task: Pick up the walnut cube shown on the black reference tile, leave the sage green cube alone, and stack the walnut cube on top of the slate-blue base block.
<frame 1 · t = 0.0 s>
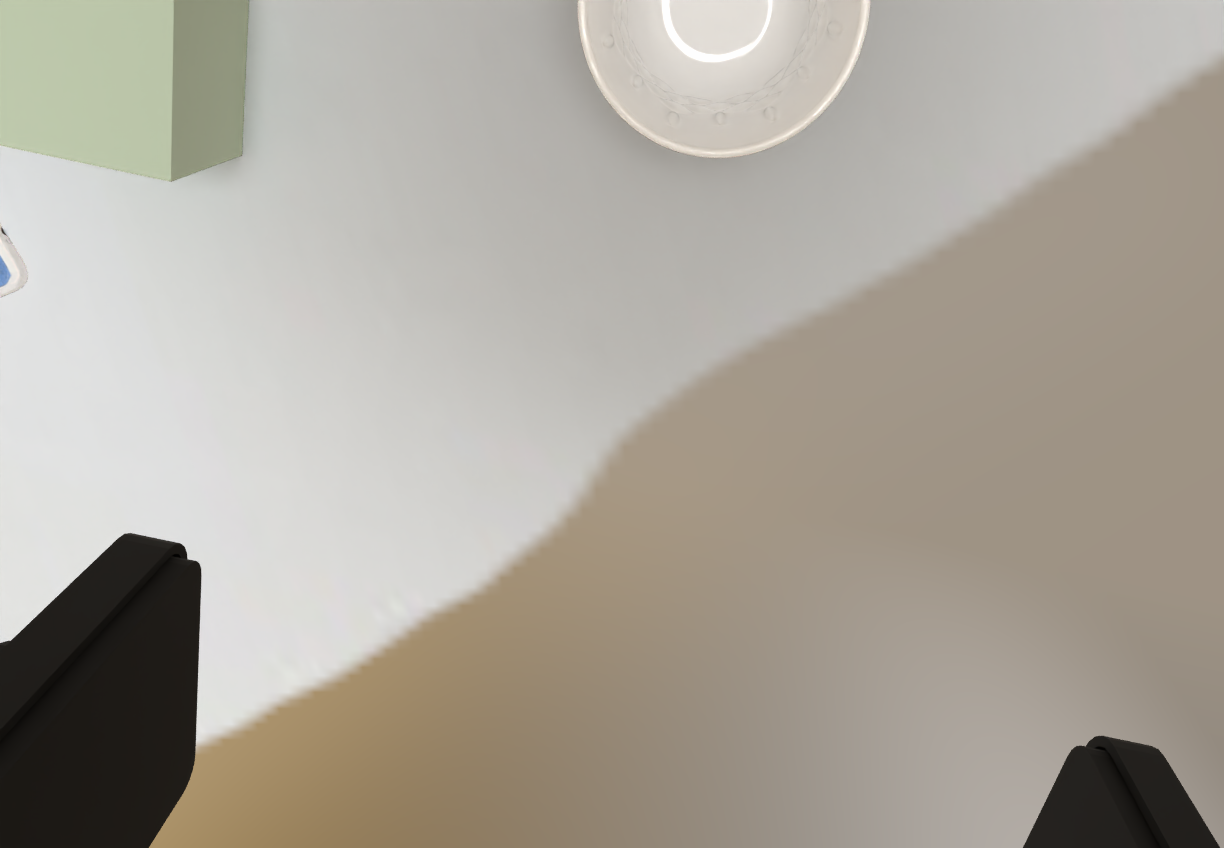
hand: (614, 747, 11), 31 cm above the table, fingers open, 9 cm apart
sage cube: (169, 60, 39), on the table
white cup: (715, 3, 37), on the table
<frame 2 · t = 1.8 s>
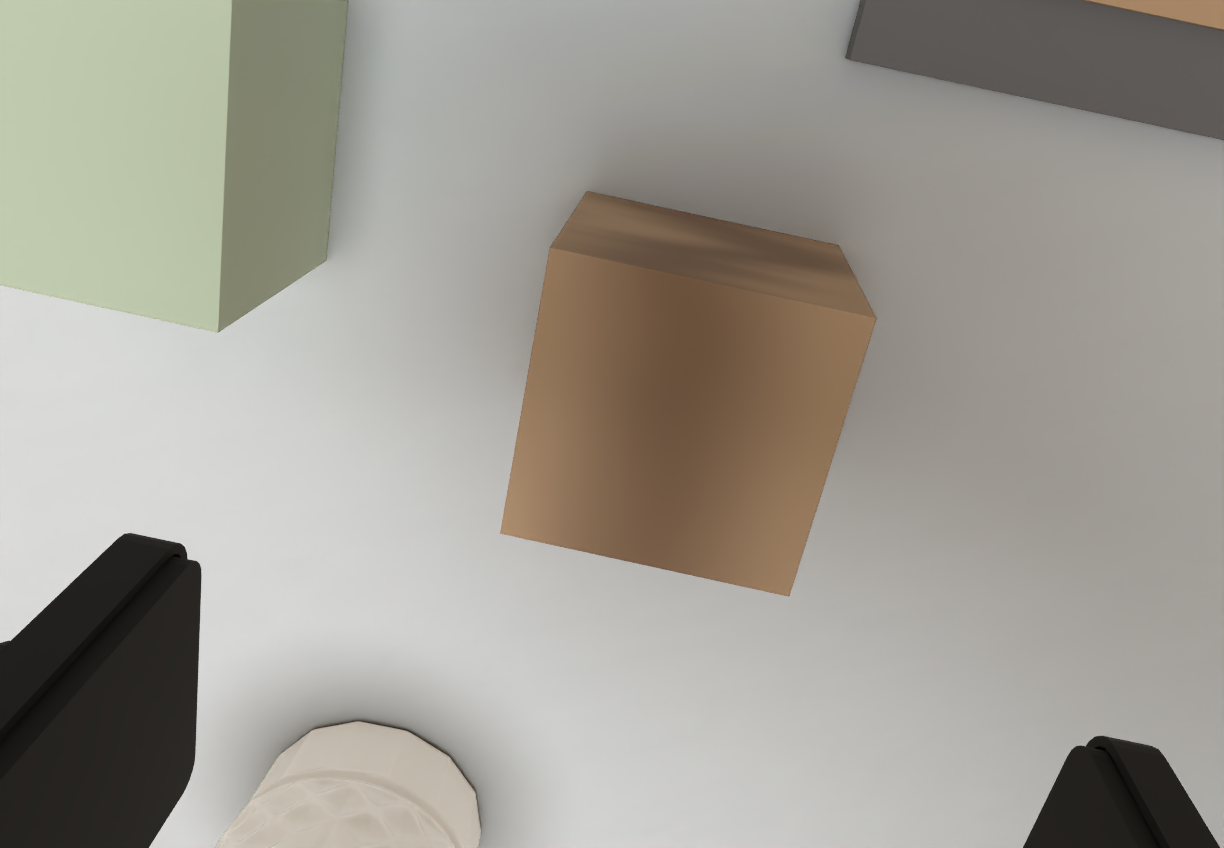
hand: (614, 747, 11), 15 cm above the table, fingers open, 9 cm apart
sage cube: (213, 109, 24), on the table
white cup: (377, 801, 32), on the table
walnut cube: (684, 337, 25), on the table
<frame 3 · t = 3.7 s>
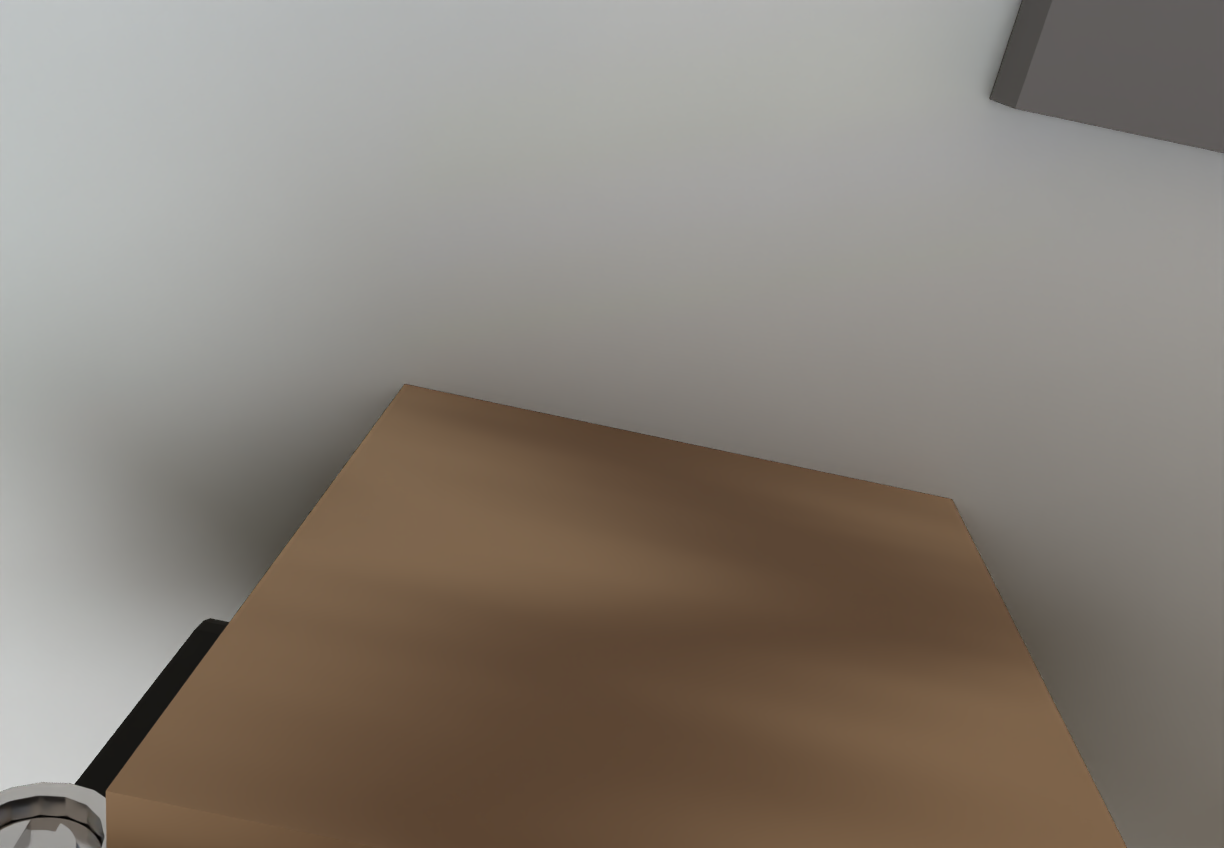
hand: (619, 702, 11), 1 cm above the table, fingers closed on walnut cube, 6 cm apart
walnut cube: (623, 665, 12), on the table, touching gripper
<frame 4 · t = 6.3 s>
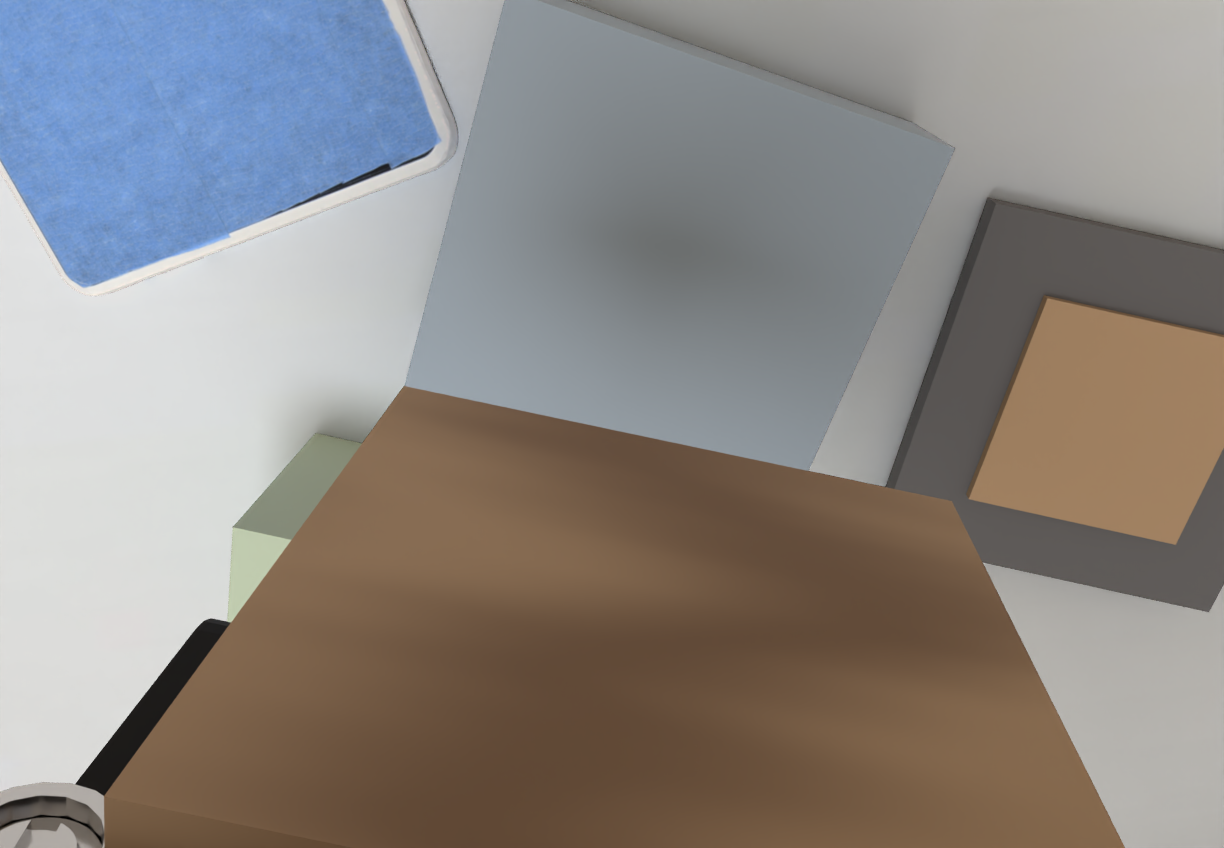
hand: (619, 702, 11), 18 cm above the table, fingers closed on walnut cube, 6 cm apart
reference tile: (1099, 411, 28), on the table
sage cube: (401, 537, 32), on the table
walnut cube: (623, 667, 12), point 17 cm above the table, touching gripper
base block: (663, 240, 28), on the table
when the fingers open (7 cm above the table, at t = 8.9 s): walnut cube drops 2 cm, resting on base block.
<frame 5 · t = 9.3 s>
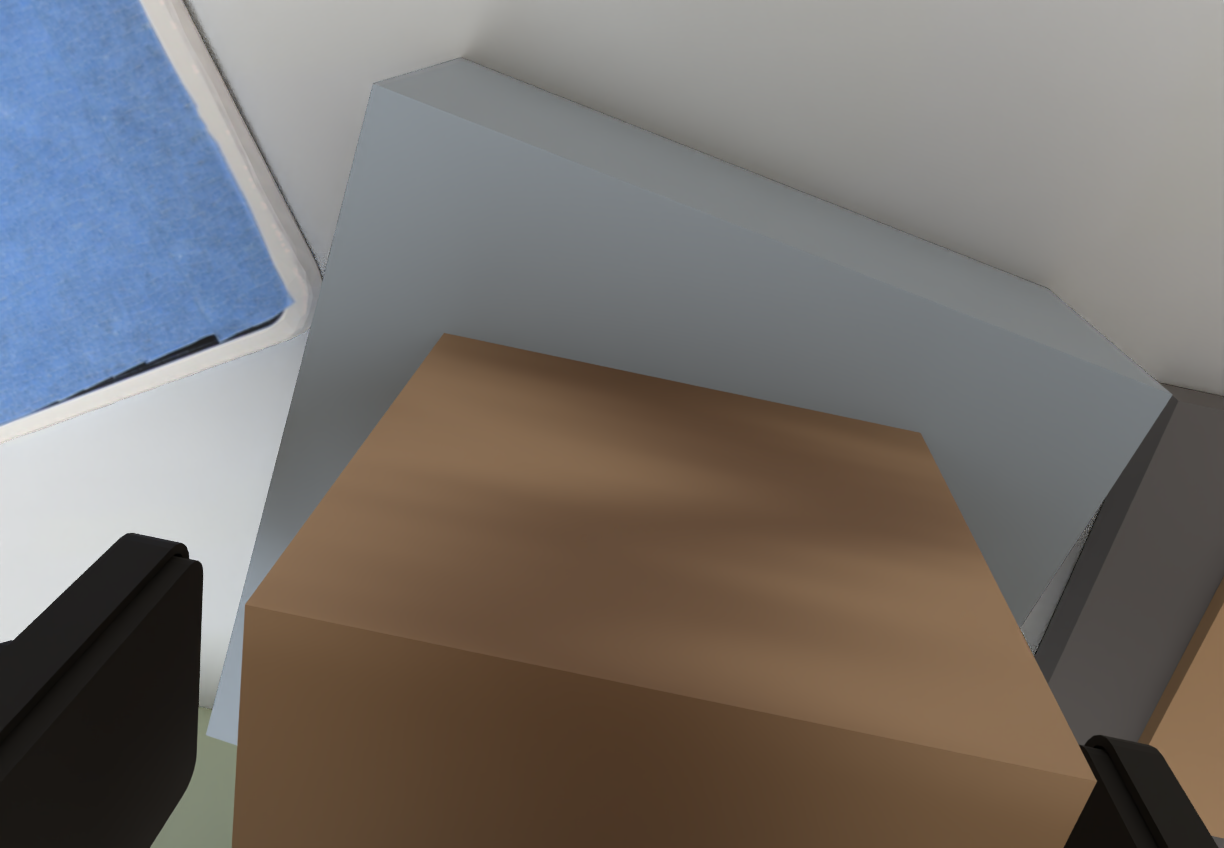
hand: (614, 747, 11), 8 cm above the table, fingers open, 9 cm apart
sage cube: (279, 827, 22), on the table
walnut cube: (634, 585, 14), point 5 cm above the table, touching base block
base block: (648, 435, 18), on the table, touching walnut cube
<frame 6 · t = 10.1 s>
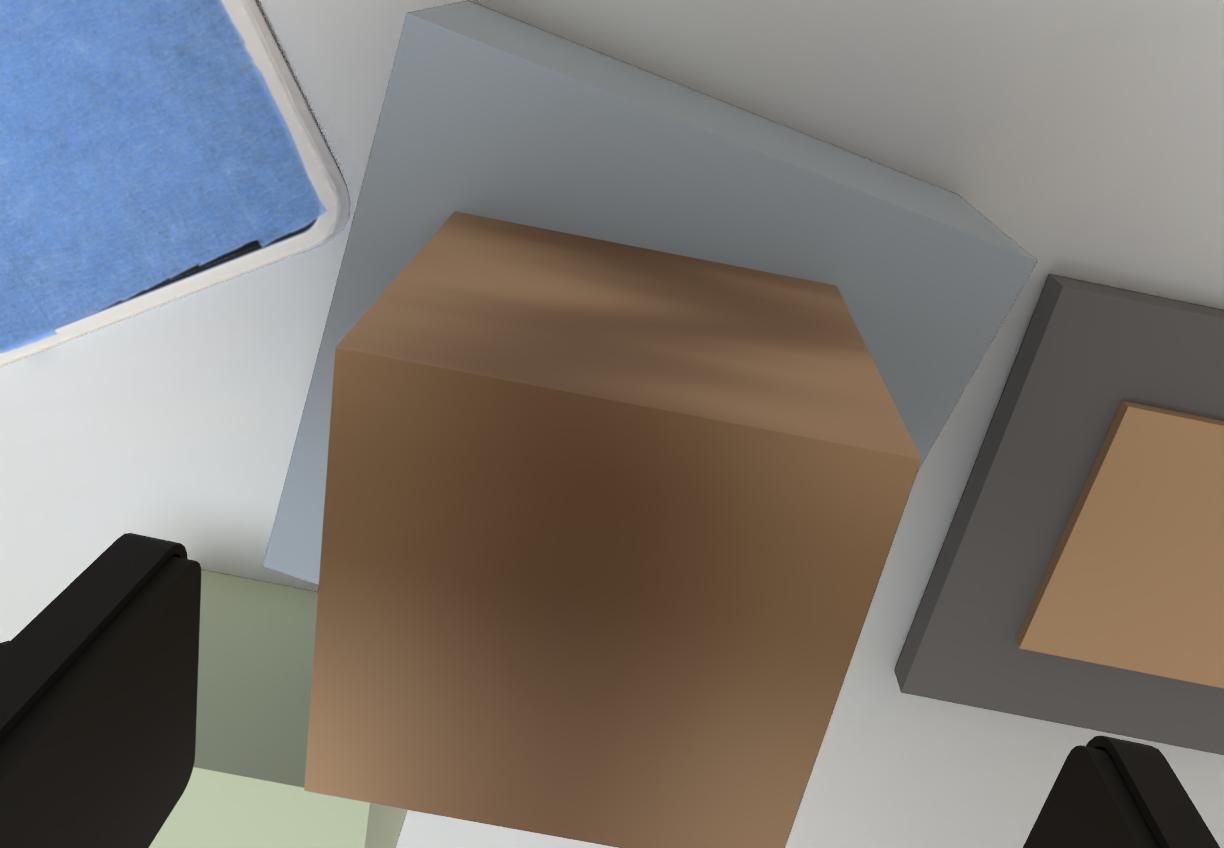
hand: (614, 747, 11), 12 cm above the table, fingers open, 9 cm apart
reference tile: (1184, 535, 22), on the table
sage cube: (307, 686, 26), on the table
walnut cube: (611, 421, 17), point 5 cm above the table, touching base block
base block: (627, 328, 21), on the table, touching walnut cube
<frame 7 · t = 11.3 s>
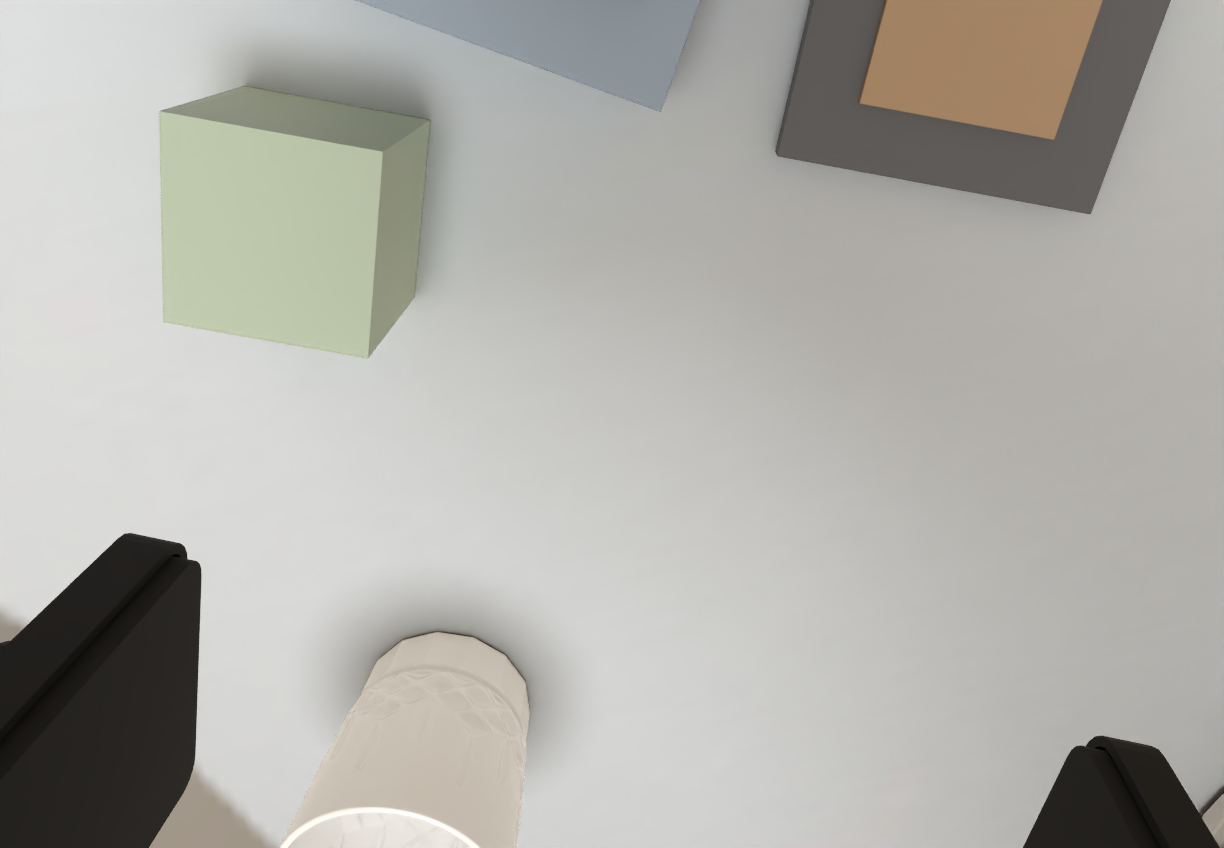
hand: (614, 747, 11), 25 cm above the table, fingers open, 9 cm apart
reference tile: (978, 14, 30), on the table
sage cube: (333, 195, 34), on the table
white cup: (450, 693, 42), on the table
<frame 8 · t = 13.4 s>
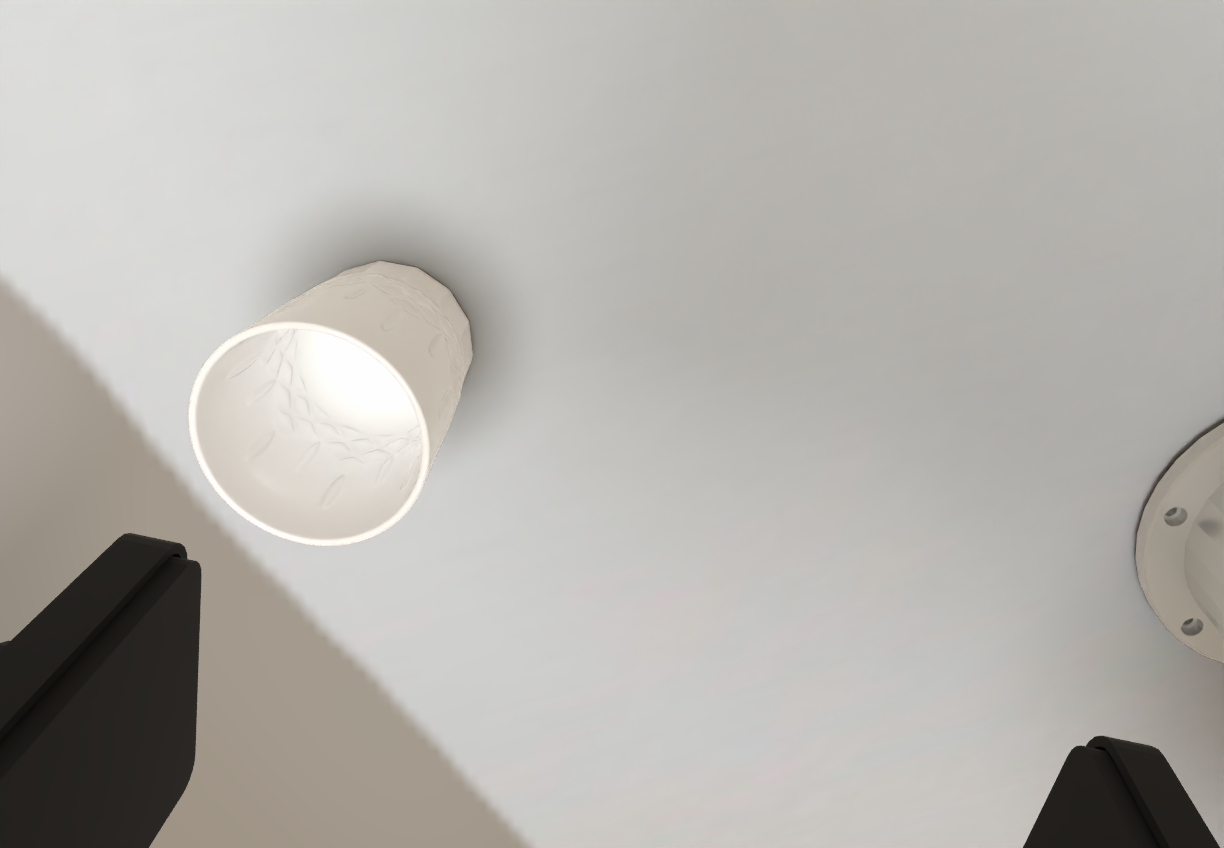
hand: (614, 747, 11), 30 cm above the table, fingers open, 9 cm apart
white cup: (394, 338, 42), on the table
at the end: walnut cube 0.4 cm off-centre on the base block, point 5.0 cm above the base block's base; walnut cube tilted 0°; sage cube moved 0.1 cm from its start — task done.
